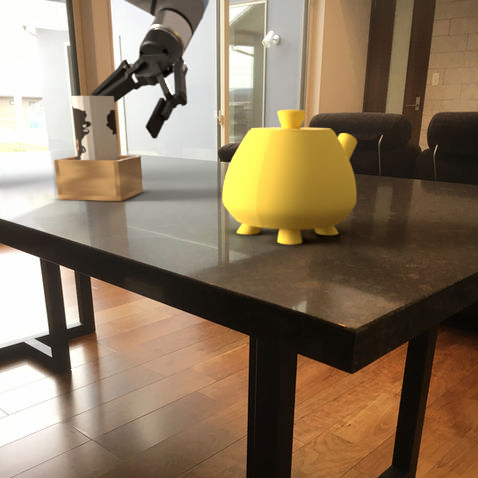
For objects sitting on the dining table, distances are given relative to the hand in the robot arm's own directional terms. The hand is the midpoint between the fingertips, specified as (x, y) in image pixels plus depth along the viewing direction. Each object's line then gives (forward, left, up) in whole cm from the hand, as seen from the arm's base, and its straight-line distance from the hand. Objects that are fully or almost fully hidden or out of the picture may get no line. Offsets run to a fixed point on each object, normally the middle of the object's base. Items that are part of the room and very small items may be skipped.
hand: (119, 132), depth 91 cm
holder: (-2, -5, -10) cm, 12 cm away
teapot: (+33, -28, -10) cm, 45 cm away
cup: (-2, -5, -10) cm, 11 cm away
